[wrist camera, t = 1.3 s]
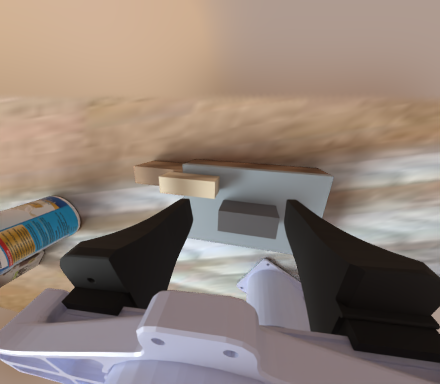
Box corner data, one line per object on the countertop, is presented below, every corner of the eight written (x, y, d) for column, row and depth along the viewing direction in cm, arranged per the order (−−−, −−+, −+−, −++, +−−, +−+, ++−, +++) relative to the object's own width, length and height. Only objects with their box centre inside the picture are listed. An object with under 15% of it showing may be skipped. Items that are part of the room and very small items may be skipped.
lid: (326, 172, 18) (350, 185, 13) (306, 247, 21) (320, 277, 17) (188, 162, 21) (170, 169, 16) (189, 230, 24) (175, 252, 19)
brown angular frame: (317, 168, 20) (333, 176, 16) (300, 235, 24) (310, 257, 20) (153, 156, 24) (132, 160, 20) (159, 216, 27) (142, 230, 23)
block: (219, 176, 18) (215, 181, 16) (219, 191, 19) (214, 198, 17) (169, 171, 19) (158, 176, 17) (170, 186, 20) (160, 192, 18)
